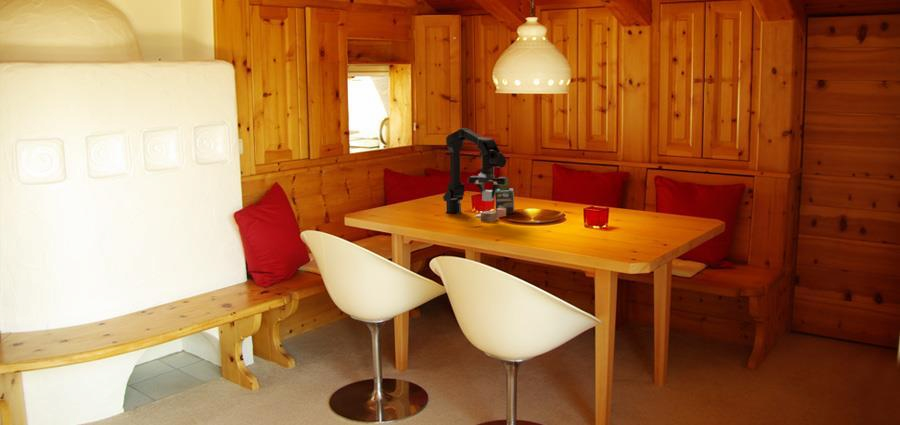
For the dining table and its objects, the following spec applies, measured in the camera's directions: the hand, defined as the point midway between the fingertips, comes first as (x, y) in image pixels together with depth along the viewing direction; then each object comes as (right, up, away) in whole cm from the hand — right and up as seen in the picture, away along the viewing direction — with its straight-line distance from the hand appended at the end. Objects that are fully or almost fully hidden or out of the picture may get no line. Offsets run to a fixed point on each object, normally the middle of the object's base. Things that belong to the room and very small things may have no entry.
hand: (488, 198), depth 420 cm
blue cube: (0, -1, 0) cm, 1 cm away
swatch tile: (-2, -9, +12) cm, 15 cm away
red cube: (+7, -9, +10) cm, 15 cm away
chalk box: (+9, -7, +21) cm, 24 cm away
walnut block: (0, -11, +2) cm, 11 cm away
